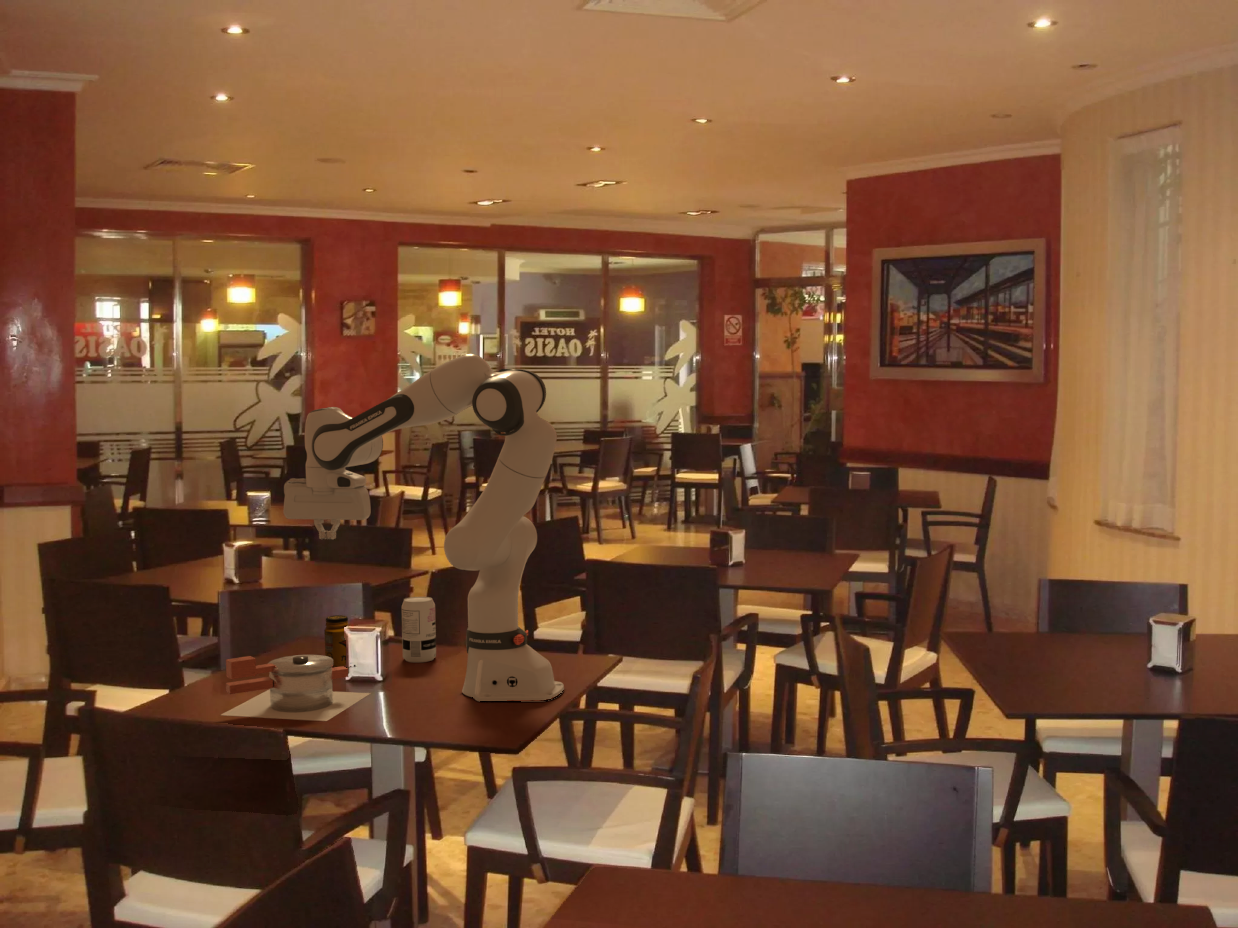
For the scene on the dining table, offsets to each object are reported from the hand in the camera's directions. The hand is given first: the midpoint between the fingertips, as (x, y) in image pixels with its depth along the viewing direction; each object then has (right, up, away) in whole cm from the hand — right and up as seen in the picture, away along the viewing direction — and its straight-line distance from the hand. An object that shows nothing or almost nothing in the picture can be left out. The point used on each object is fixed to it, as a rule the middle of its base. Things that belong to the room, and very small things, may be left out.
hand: (327, 538), depth 292 cm
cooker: (-4, -34, -20) cm, 40 cm away
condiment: (-2, -32, +18) cm, 37 cm away
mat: (-2, -35, -18) cm, 39 cm away
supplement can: (+17, -31, +23) cm, 43 cm away
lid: (-5, -26, -22) cm, 35 cm away
